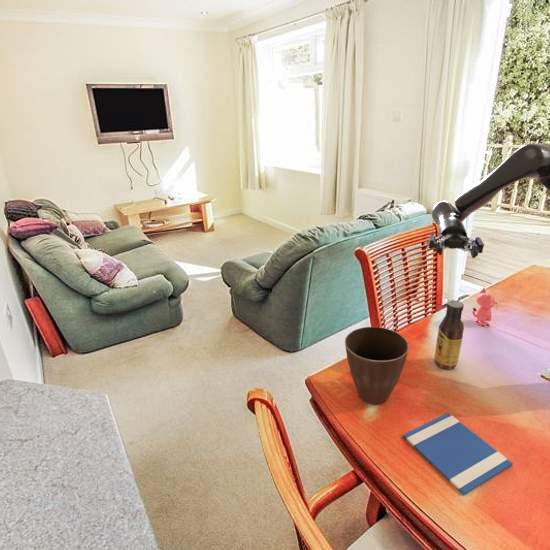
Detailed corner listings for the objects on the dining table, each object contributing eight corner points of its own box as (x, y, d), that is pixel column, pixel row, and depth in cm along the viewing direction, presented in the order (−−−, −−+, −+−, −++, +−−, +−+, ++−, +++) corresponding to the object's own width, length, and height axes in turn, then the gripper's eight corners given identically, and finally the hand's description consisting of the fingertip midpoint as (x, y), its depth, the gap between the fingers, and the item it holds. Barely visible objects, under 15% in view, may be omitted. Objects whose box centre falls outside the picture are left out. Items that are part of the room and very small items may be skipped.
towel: (447, 414, 89) (448, 412, 89) (512, 465, 76) (513, 462, 76) (402, 436, 84) (403, 434, 84) (463, 495, 71) (464, 493, 70)
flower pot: (368, 424, 88) (371, 368, 81) (332, 387, 100) (333, 336, 94) (416, 402, 93) (422, 349, 87) (376, 370, 106) (380, 321, 100)
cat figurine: (496, 329, 122) (503, 296, 117) (473, 328, 123) (479, 295, 118) (488, 318, 128) (494, 286, 124) (467, 317, 130) (472, 286, 125)
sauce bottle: (433, 355, 111) (442, 295, 103) (456, 359, 108) (467, 298, 101) (433, 369, 105) (442, 306, 97) (458, 373, 103) (469, 309, 95)
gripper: (429, 219, 117) (432, 238, 103) (479, 222, 113) (489, 243, 99) (425, 241, 120) (427, 263, 107) (474, 245, 116) (483, 268, 102)
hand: (457, 253), depth 103 cm, fingers open, 8 cm apart
